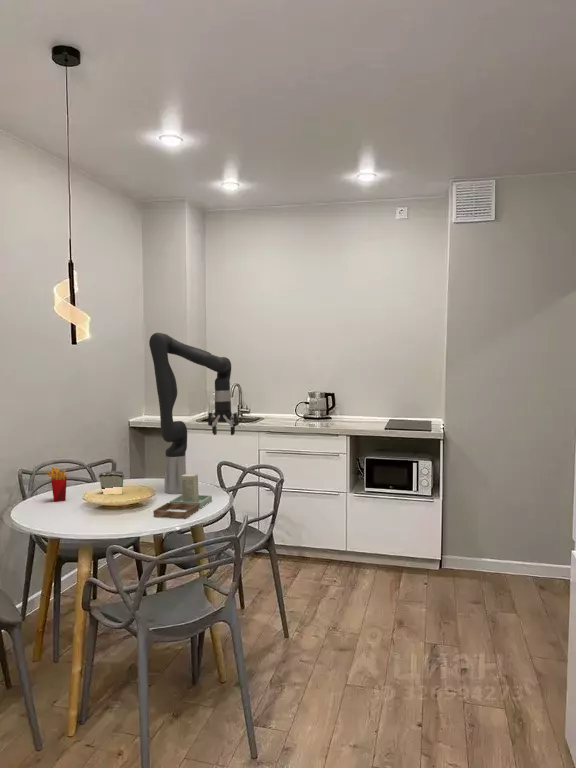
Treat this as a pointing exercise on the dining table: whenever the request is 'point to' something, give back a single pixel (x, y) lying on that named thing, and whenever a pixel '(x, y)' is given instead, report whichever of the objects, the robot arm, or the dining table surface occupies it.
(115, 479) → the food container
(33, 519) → the dining table surface
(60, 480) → the french fries
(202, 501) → the green tray
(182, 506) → the walnut bin
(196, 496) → the skincare box
